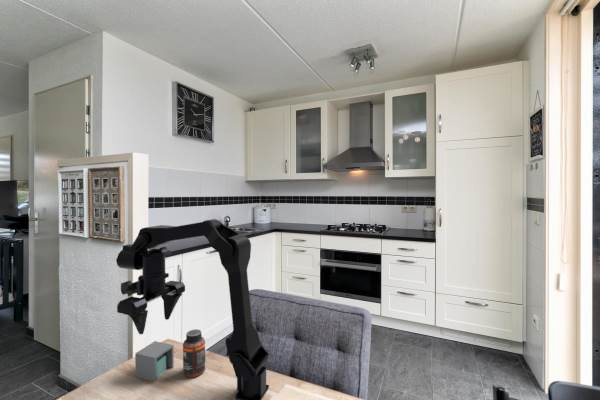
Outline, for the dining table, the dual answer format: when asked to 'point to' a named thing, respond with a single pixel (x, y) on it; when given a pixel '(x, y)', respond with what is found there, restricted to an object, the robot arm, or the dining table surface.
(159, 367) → the cube
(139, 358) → the grey arch block
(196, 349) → the supplement bottle
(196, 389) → the dining table surface
